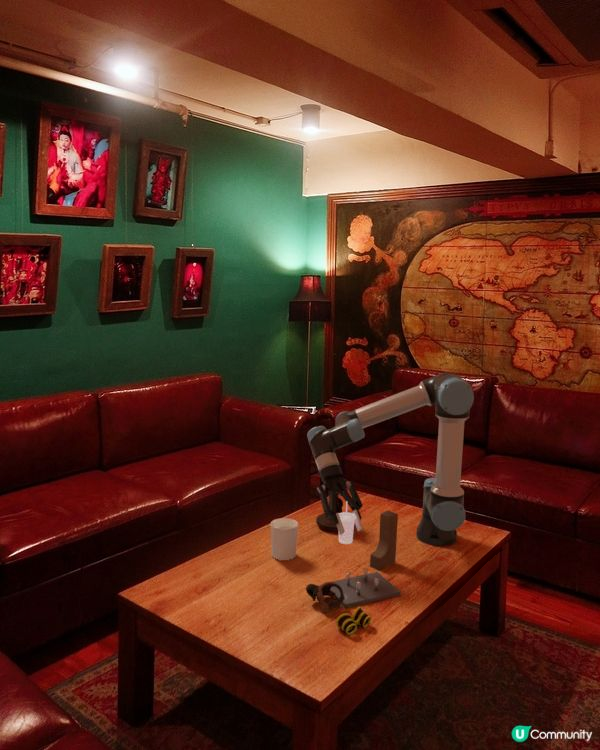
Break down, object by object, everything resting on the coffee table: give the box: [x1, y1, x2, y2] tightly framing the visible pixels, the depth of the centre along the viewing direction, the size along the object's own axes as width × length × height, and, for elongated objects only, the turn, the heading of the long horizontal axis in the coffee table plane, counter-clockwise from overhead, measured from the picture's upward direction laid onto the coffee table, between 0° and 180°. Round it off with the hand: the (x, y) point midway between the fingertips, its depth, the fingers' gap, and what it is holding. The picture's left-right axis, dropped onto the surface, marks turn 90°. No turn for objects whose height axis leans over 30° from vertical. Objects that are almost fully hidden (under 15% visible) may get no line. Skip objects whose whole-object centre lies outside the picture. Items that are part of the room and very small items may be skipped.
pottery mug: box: [305, 581, 345, 614], centre depth 199 cm, size 12×10×8 cm
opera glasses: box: [335, 606, 372, 636], centre depth 187 cm, size 10×5×5 cm, turn 130°
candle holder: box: [270, 517, 299, 561], centre depth 230 cm, size 10×10×12 cm
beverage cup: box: [337, 501, 356, 545], centre depth 217 cm, size 6×6×14 cm
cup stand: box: [330, 568, 402, 609], centre depth 208 cm, size 20×14×5 cm
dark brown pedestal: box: [315, 494, 344, 531], centre depth 256 cm, size 15×15×20 cm
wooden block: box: [369, 510, 399, 571], centre depth 225 cm, size 9×4×18 cm, turn 135°
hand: (351, 531), depth 214 cm, fingers closed on beverage cup, 6 cm apart
